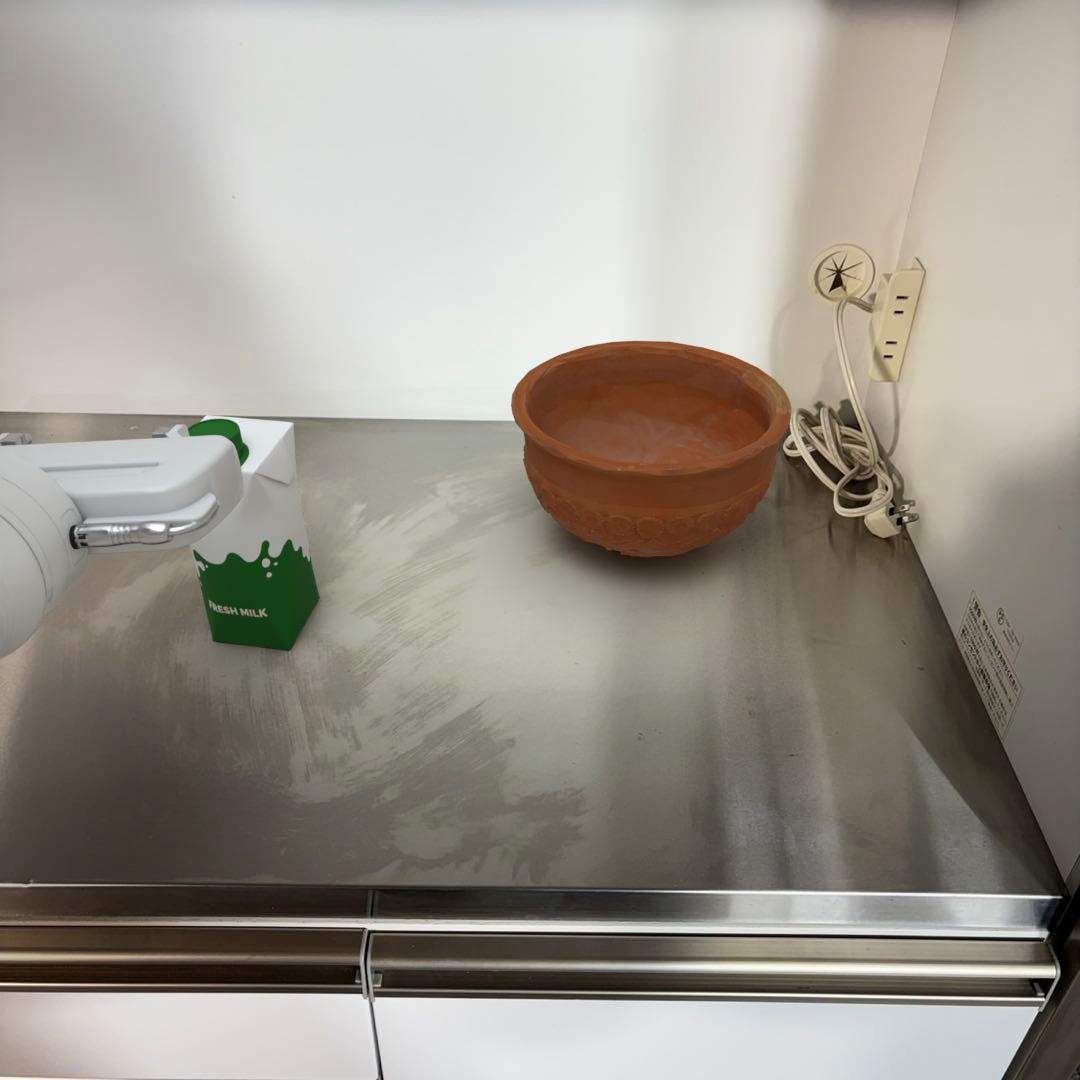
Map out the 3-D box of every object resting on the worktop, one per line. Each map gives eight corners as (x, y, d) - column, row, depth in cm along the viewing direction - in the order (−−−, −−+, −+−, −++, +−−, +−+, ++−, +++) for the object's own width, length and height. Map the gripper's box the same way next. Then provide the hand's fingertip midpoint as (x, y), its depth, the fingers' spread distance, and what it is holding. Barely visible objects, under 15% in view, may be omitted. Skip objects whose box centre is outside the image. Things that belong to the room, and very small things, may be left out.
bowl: (800, 606, 86) (829, 461, 78) (520, 618, 85) (517, 472, 76) (736, 462, 106) (754, 334, 98) (508, 470, 105) (505, 341, 96)
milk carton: (198, 647, 82) (140, 441, 70) (243, 582, 89) (197, 386, 78) (296, 659, 81) (254, 452, 69) (333, 592, 88) (301, 394, 76)
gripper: (183, 473, 44) (262, 380, 56) (-259, 494, 44) (-85, 398, 57) (212, 594, 47) (281, 480, 59) (-204, 613, 47) (-49, 496, 59)
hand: (99, 440), depth 58 cm, fingers open, 8 cm apart
